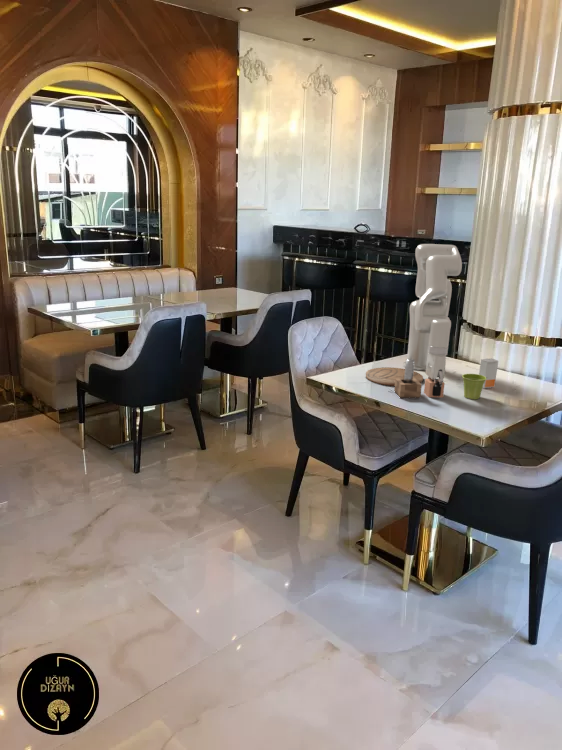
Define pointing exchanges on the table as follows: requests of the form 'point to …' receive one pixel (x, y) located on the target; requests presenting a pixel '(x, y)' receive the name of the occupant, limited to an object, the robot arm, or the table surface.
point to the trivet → (389, 375)
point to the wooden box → (407, 388)
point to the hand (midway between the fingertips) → (433, 392)
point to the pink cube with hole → (429, 388)
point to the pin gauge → (409, 371)
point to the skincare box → (489, 371)
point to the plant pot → (473, 385)
